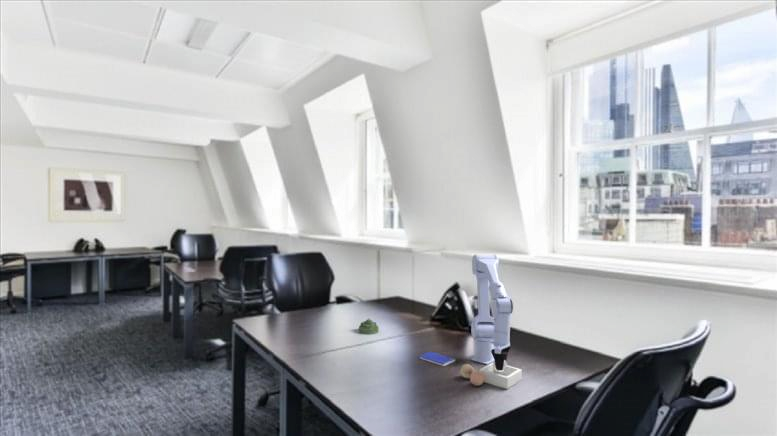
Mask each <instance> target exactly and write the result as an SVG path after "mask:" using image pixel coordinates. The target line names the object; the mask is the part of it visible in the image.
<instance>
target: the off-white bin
mask: <svg viewBox="0 0 777 436" xmlns="http://www.w3.org/2000/svg"><path fill="white" fill-rule="evenodd" d="M478 371H480V372H481V373H482V374H483V376H484V382H483V383H485V384H486V383H487V384H488V385H489V384H490V385H493V386H496V387H499V388H502V389H505V390H509V389H511V388H513V387H514V386H516V384H518V383H519V382H522V379H523V378H522V377H523V375H522V374H523V370H522V368H521V369H520V368H517V367H514V366H511V365H509V364H507V368H506V370H505V371H503V372H498V371H496V370H495V369H494V367H493V362H491V363H489V364H486V366H483V367H482V368H480V369H479V370H478Z"/></svg>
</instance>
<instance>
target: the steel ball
mask: <svg viewBox="0 0 777 436" xmlns="http://www.w3.org/2000/svg"><path fill="white" fill-rule="evenodd" d="M492 363H493V367H494V369H495V370H496V366H495V361H493V362H492ZM507 365H508V363H507V360H506V361H505V360H504V366H503V370H502V371H501V370H496V371H498V372H503V371H505V370H506V368H507Z"/></svg>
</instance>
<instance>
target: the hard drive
mask: <svg viewBox="0 0 777 436" xmlns="http://www.w3.org/2000/svg"><path fill="white" fill-rule="evenodd" d="M419 359H421V360H423V361H426V362H429V363H433V364H437V365H438V366H442V367H445V366H447V365H450V364H452V363H455V362H456V358H453V357H450V356H447V355H443V354H440V353H437V352H436V353H435V352H432V351H429V352H427V353H423V354H422V355H419Z"/></svg>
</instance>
